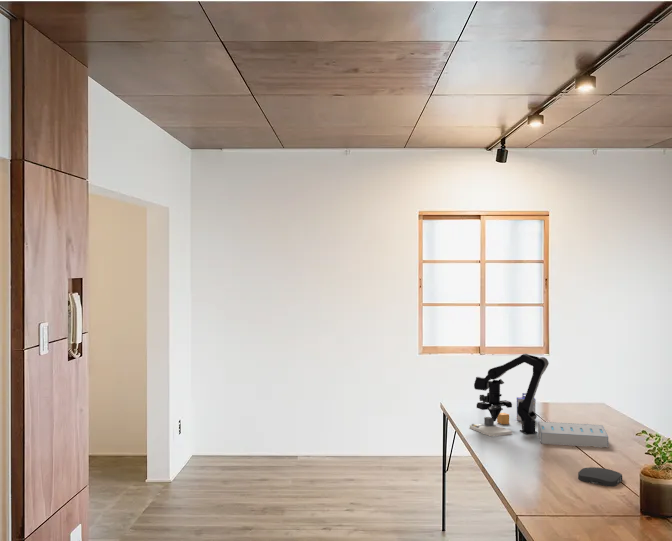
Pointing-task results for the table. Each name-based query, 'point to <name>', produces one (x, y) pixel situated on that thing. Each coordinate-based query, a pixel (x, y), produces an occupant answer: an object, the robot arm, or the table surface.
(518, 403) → the ink cartridge box
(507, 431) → the board
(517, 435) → the table surface
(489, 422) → the block
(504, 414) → the cap
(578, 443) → the warehouse
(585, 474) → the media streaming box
